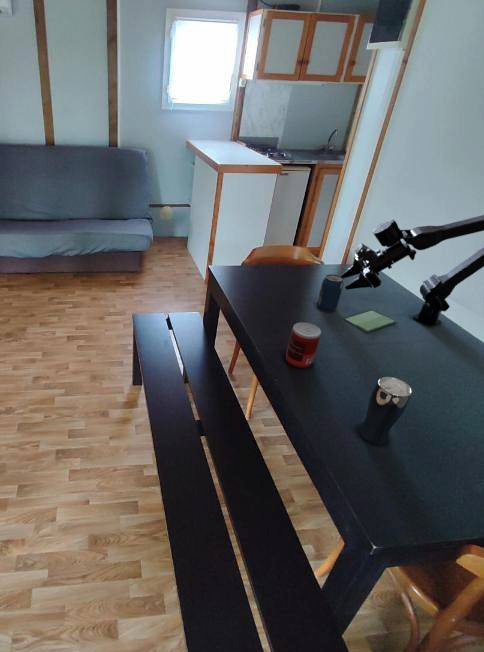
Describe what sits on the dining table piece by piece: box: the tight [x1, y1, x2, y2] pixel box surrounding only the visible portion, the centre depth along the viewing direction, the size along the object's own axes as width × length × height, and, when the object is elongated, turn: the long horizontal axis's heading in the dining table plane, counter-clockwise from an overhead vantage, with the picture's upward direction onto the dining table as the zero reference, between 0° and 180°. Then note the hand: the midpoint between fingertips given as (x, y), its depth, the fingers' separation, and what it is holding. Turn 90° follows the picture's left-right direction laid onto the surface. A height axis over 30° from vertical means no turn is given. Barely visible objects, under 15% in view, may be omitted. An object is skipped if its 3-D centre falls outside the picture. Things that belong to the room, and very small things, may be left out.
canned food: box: [285, 322, 322, 369], centre depth 118 cm, size 8×8×11 cm
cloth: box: [344, 310, 396, 333], centre depth 141 cm, size 14×9×1 cm, turn 117°
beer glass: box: [358, 376, 413, 446], centre depth 92 cm, size 7×7×15 cm
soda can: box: [316, 273, 345, 313], centre depth 145 cm, size 7×7×12 cm
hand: (343, 282), depth 142 cm, fingers open, 9 cm apart
